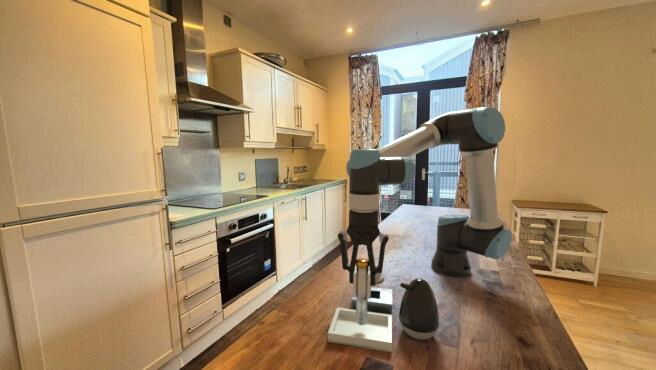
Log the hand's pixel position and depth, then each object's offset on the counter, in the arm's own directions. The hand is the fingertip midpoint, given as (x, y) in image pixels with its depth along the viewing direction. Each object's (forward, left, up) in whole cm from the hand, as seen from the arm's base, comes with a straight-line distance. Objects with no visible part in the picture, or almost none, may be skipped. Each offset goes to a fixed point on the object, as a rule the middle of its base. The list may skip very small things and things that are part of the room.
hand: (362, 295), depth 73 cm
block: (-2, -13, -11) cm, 16 cm away
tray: (0, 0, -11) cm, 11 cm away
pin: (0, 0, -8) cm, 8 cm away
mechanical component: (0, -34, -11) cm, 36 cm away
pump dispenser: (-15, -3, -11) cm, 19 cm away
